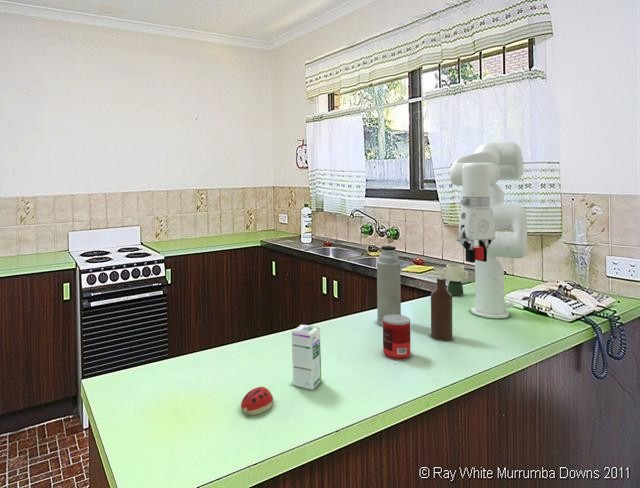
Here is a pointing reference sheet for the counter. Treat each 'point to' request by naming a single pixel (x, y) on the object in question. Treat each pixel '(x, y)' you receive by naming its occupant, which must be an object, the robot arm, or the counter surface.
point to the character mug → (455, 278)
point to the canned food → (396, 336)
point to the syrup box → (306, 356)
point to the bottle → (441, 312)
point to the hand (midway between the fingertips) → (476, 260)
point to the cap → (479, 252)
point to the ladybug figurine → (257, 401)
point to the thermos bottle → (388, 284)
